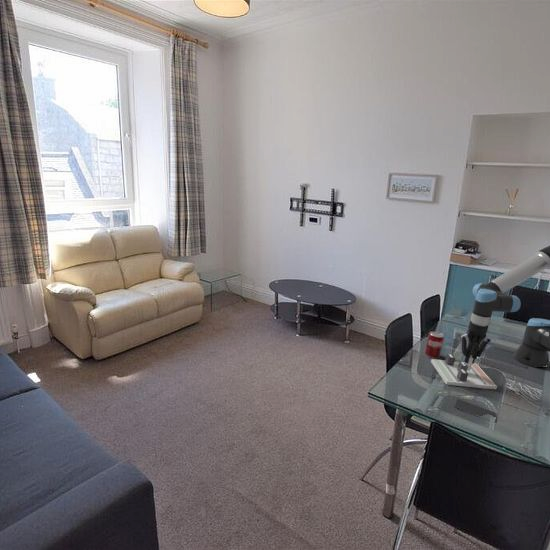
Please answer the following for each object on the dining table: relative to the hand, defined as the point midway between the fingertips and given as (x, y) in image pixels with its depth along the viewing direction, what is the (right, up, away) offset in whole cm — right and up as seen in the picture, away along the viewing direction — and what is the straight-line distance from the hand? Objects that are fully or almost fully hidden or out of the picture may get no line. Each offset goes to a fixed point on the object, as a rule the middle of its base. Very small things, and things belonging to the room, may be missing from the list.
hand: (467, 369), depth 174 cm
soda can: (-9, +2, +18) cm, 20 cm away
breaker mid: (-2, -1, +1) cm, 3 cm away
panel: (-2, -3, +1) cm, 4 cm away
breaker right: (-6, -3, -6) cm, 9 cm away
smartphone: (-10, -11, -25) cm, 29 cm away
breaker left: (-5, +1, +7) cm, 9 cm away
